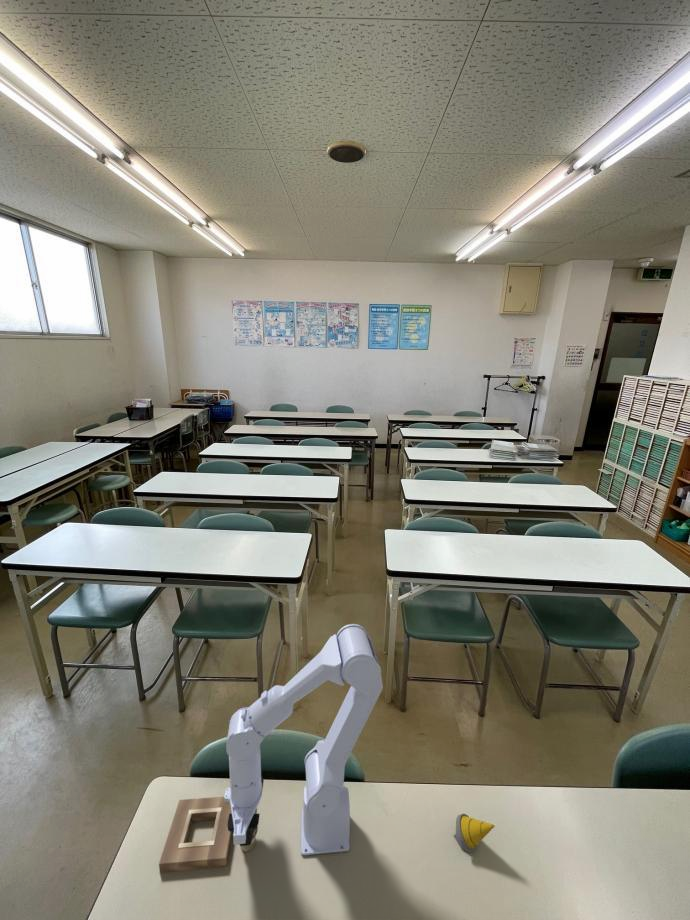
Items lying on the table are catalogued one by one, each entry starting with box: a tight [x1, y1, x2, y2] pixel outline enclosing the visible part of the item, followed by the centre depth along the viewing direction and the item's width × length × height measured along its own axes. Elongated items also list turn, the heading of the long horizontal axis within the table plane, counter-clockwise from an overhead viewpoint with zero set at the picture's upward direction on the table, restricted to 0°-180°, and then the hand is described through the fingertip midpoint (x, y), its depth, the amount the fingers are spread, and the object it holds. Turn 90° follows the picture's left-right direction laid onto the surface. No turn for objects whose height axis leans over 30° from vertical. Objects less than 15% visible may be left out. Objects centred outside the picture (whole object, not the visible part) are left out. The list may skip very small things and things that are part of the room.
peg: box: [239, 807, 259, 853], centre depth 74 cm, size 4×4×8 cm
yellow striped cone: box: [453, 813, 496, 853], centre depth 74 cm, size 5×5×10 cm
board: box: [158, 796, 233, 873], centre depth 75 cm, size 12×11×2 cm
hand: (247, 829), depth 74 cm, fingers closed on peg, 4 cm apart
